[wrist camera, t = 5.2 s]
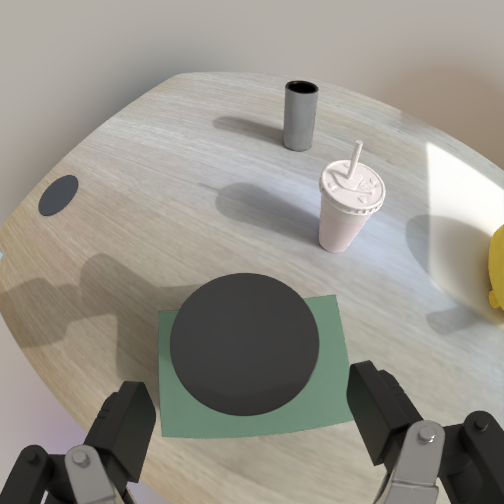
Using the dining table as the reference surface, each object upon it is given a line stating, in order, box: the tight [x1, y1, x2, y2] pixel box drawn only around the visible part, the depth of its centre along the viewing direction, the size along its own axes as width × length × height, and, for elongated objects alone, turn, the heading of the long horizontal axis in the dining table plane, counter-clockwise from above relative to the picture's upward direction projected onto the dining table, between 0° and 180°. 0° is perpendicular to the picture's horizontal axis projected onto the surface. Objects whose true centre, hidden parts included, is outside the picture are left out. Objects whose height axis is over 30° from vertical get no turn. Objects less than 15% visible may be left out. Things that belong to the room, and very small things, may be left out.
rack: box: [158, 295, 354, 438], centre depth 21 cm, size 14×10×7 cm
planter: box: [283, 81, 318, 151], centre depth 37 cm, size 4×4×10 cm
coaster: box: [39, 175, 78, 216], centre depth 38 cm, size 9×9×1 cm
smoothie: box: [319, 140, 386, 253], centre depth 26 cm, size 6×6×14 cm
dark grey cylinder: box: [170, 273, 320, 416], centre depth 14 cm, size 6×6×10 cm
